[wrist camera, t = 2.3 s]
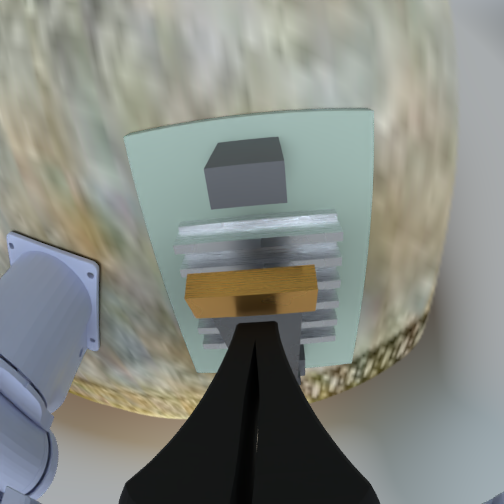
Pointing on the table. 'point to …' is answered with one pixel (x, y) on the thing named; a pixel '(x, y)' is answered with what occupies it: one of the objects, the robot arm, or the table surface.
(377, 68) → the table surface
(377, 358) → the table surface
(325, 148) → the socket board
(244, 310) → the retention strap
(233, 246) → the heat sink
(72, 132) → the table surface
